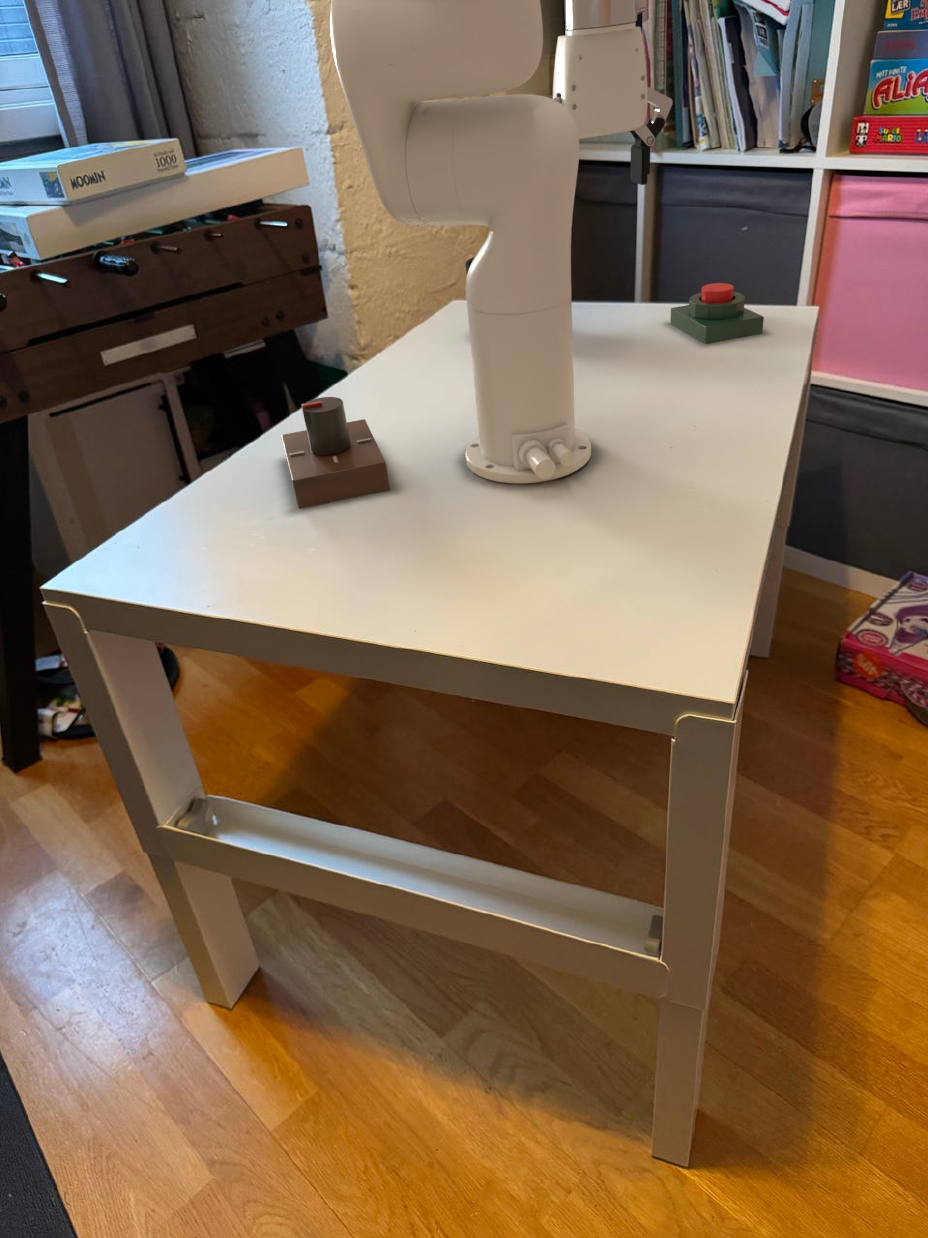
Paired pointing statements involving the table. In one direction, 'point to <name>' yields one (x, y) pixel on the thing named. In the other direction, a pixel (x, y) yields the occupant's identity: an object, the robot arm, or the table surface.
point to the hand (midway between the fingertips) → (601, 189)
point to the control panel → (335, 468)
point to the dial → (326, 425)
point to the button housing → (716, 319)
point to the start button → (717, 293)
